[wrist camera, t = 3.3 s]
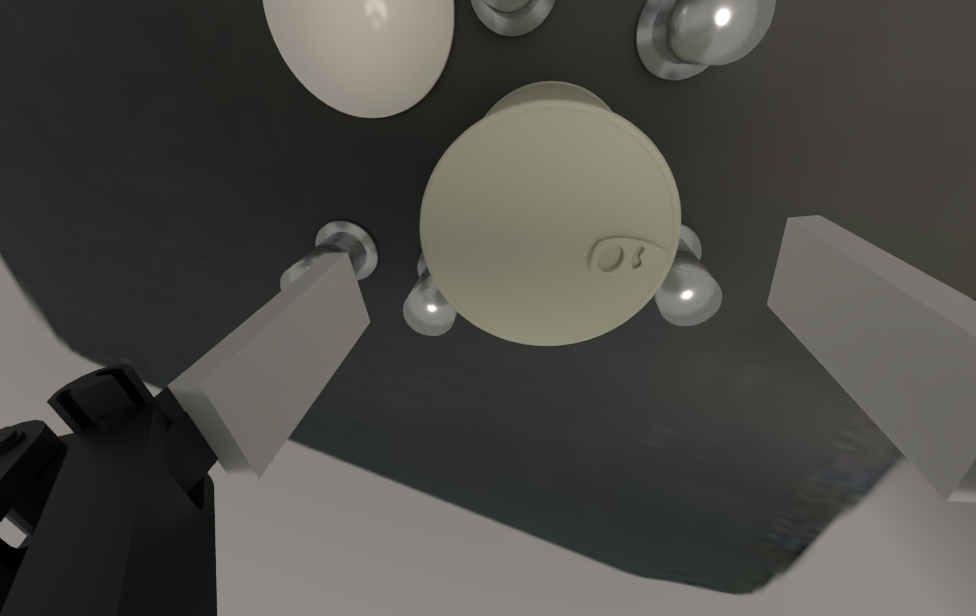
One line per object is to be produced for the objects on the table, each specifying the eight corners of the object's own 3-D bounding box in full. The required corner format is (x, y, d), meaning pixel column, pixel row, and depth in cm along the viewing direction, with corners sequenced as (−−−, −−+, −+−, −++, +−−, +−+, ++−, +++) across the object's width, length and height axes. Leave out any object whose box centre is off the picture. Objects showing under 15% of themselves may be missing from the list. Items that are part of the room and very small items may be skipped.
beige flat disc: (308, 127, 24) (303, 128, 24) (234, -98, 19) (225, -102, 19) (469, 104, 23) (467, 105, 22) (434, -149, 18) (430, -155, 17)
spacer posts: (338, 302, 31) (297, 350, 26) (221, -16, 21) (119, -40, 16) (694, 282, 27) (729, 335, 21) (752, -131, 17) (840, -214, 12)
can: (606, 250, 26) (643, 370, 16) (465, 233, 27) (416, 339, 17) (645, 88, 21) (735, 114, 11) (473, 73, 22) (409, 84, 12)
